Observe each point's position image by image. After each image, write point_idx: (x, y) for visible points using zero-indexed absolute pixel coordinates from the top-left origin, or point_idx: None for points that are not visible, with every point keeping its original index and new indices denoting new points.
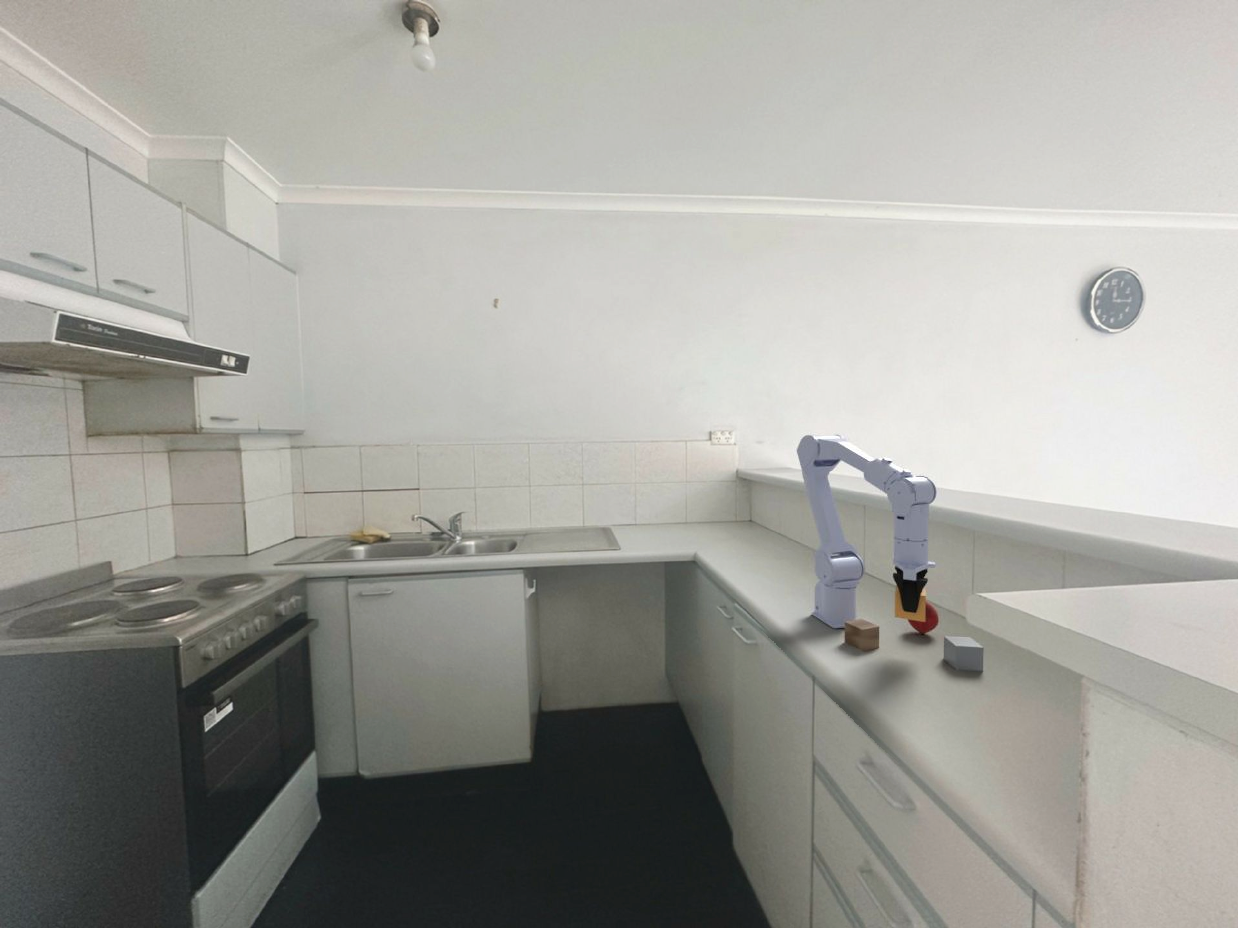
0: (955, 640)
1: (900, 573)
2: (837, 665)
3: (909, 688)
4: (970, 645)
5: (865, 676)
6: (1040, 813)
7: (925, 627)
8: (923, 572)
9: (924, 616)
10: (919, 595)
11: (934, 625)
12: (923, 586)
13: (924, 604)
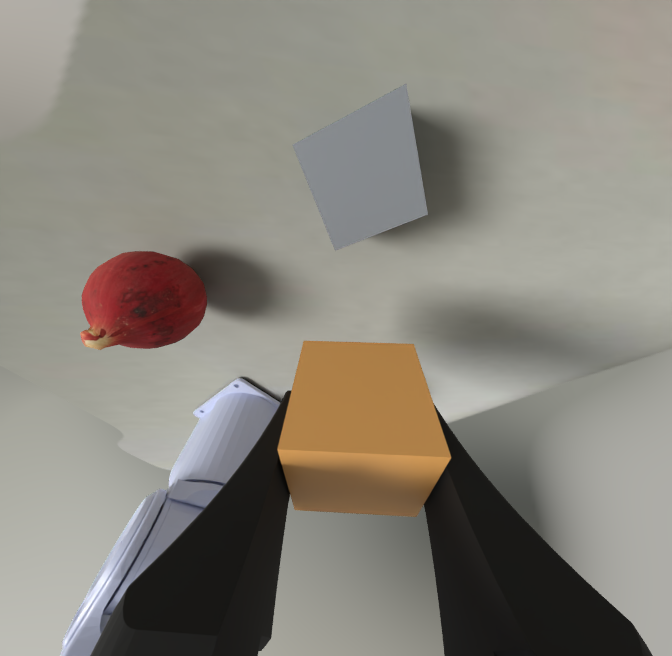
0: (366, 212)
1: (273, 594)
2: (465, 400)
3: (553, 304)
4: (401, 152)
5: (504, 367)
6: None
7: (202, 283)
8: (230, 619)
9: (419, 362)
10: (494, 487)
11: (175, 262)
12: (584, 582)
13: (435, 410)
